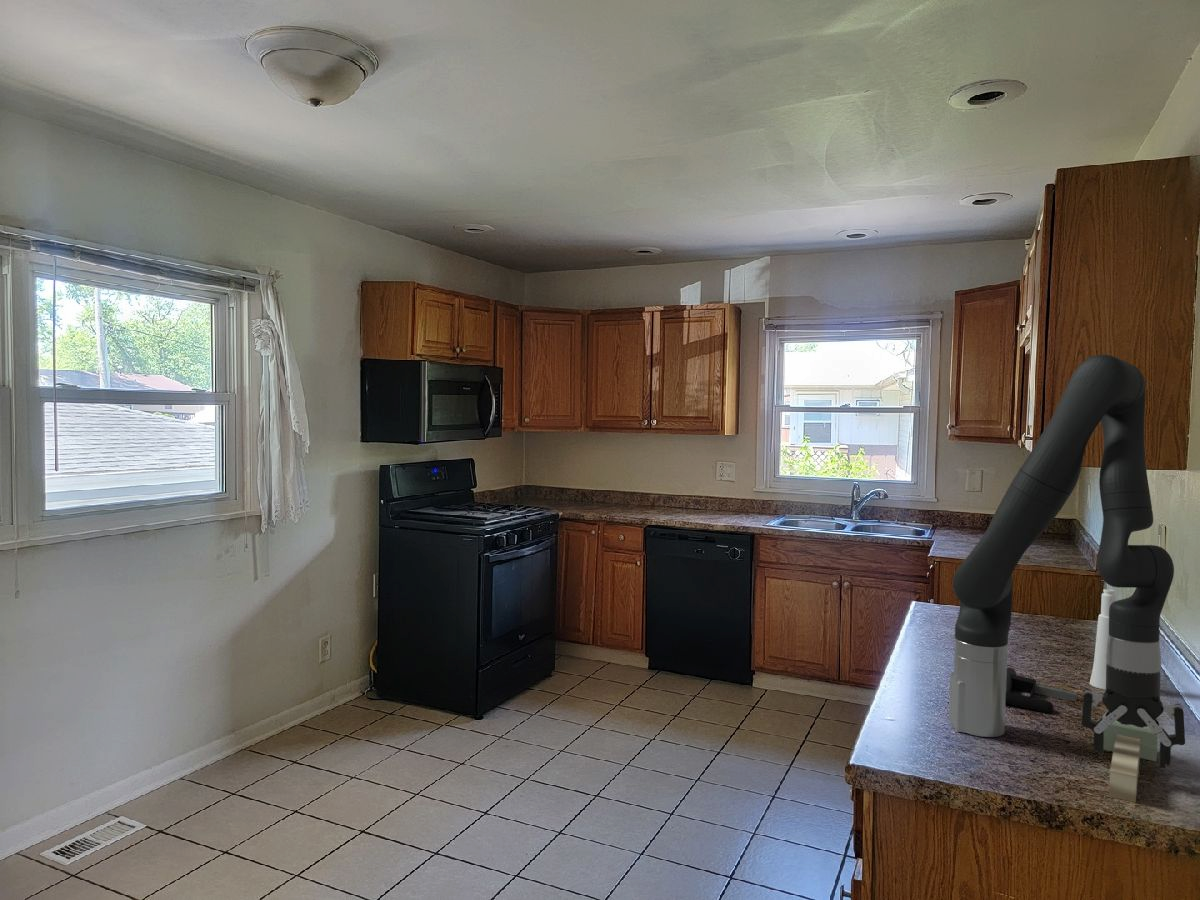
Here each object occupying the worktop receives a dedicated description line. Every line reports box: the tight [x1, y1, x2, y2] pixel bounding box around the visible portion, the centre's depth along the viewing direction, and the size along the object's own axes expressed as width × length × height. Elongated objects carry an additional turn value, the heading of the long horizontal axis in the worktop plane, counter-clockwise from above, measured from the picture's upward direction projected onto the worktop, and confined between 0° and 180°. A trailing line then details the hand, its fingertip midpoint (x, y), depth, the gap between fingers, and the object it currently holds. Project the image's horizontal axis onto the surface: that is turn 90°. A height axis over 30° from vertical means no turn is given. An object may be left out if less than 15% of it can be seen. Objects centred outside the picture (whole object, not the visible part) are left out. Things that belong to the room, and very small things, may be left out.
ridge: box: [1104, 720, 1159, 762], centre depth 142 cm, size 5×8×4 cm, turn 53°
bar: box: [1108, 734, 1141, 804], centre depth 131 cm, size 18×4×4 cm, turn 144°
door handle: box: [1006, 667, 1078, 714], centre depth 170 cm, size 3×20×16 cm
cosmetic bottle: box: [1089, 588, 1117, 691], centre depth 177 cm, size 6×6×22 cm
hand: (1131, 759), depth 131 cm, fingers open, 8 cm apart
